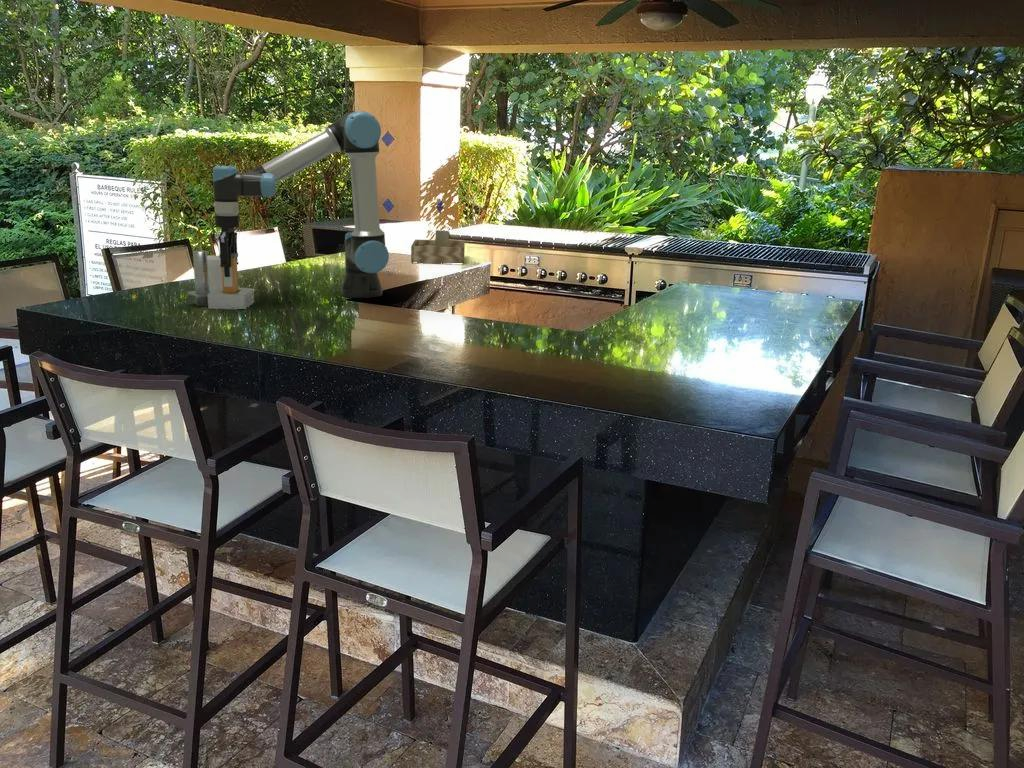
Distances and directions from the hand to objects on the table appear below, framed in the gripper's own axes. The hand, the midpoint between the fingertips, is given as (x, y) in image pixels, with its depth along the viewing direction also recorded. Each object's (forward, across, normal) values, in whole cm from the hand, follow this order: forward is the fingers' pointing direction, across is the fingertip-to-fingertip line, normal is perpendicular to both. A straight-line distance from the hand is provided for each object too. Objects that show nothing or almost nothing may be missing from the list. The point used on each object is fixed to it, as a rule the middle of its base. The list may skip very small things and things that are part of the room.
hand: (230, 285), depth 287 cm
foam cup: (+7, -22, -12) cm, 26 cm away
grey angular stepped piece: (+7, -6, -4) cm, 10 cm away
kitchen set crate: (+7, -126, +64) cm, 142 cm away
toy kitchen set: (+7, -127, +68) cm, 144 cm away
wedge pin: (+4, 0, 0) cm, 4 cm away
